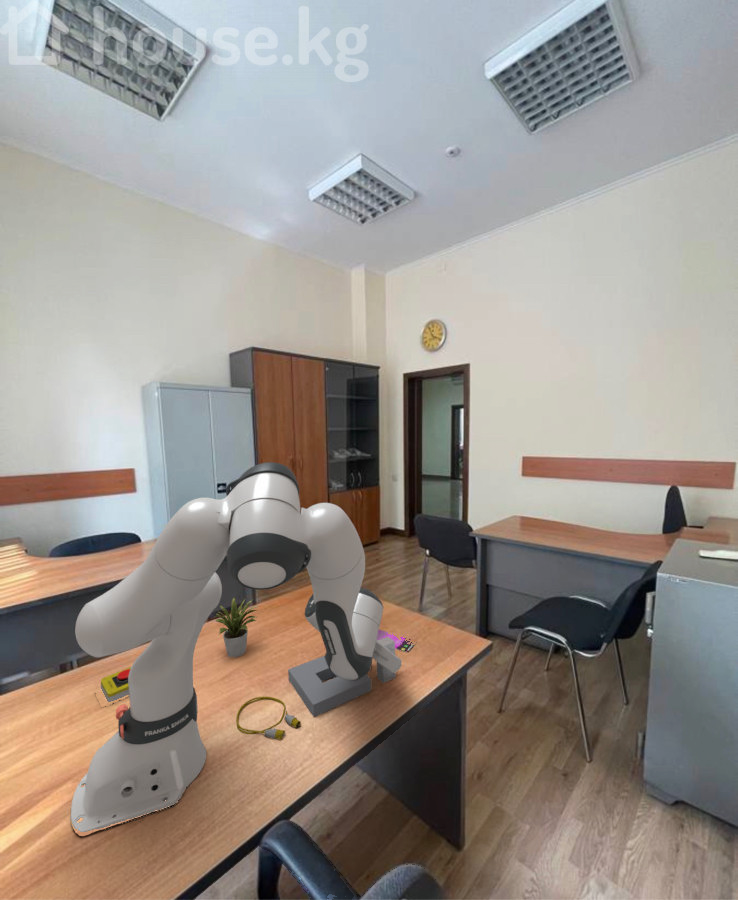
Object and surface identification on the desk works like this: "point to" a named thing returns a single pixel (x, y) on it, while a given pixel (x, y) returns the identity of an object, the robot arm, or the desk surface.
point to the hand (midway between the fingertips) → (387, 657)
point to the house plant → (235, 628)
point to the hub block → (324, 686)
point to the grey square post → (381, 671)
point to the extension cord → (271, 732)
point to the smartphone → (396, 641)
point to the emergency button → (116, 685)
